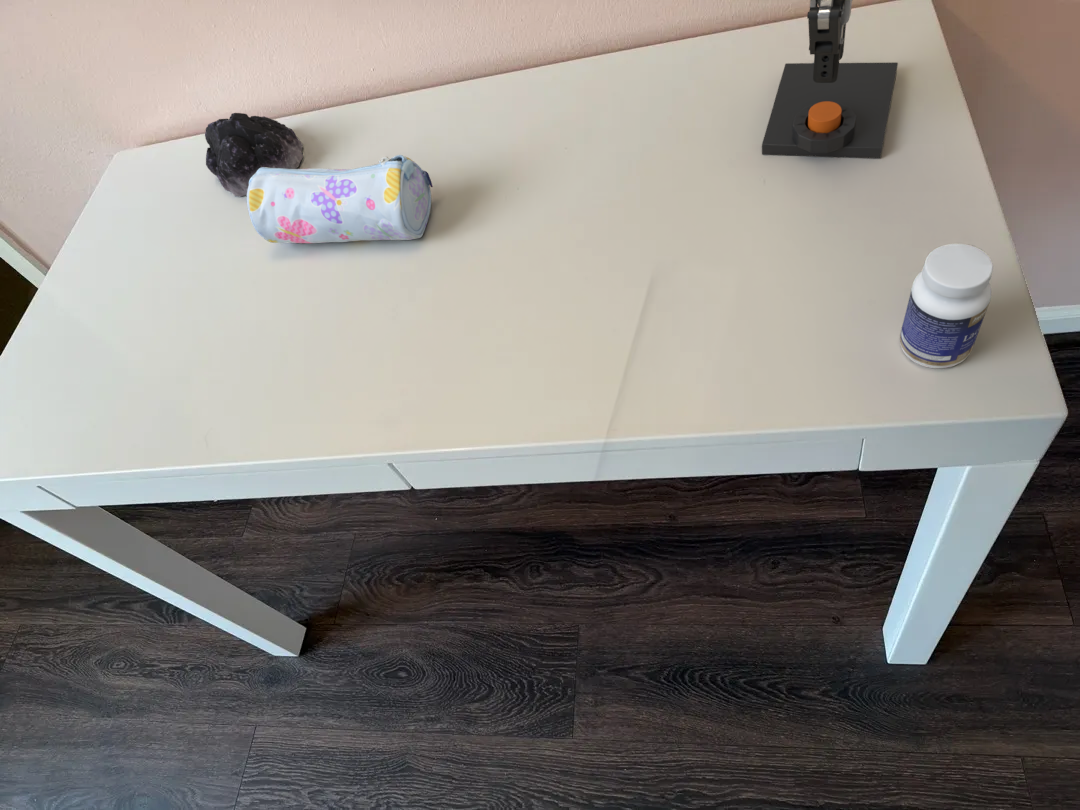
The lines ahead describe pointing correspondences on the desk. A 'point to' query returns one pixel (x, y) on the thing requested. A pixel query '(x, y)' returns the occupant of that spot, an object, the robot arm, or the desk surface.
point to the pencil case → (341, 203)
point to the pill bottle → (947, 306)
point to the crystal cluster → (249, 149)
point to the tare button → (824, 117)
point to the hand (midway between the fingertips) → (828, 68)
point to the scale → (854, 91)
